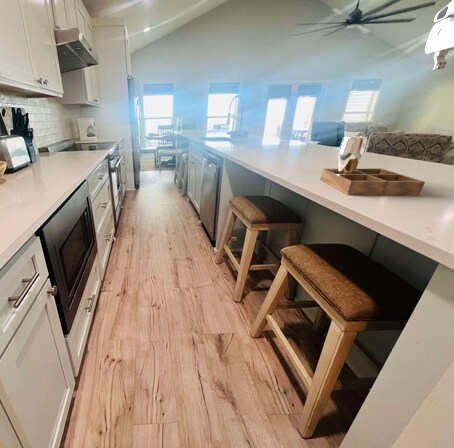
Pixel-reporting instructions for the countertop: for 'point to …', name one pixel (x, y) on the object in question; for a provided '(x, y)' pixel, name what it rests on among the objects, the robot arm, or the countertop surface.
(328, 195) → the countertop surface
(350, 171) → the beer glass
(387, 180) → the wooden compartment tray
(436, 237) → the countertop surface
